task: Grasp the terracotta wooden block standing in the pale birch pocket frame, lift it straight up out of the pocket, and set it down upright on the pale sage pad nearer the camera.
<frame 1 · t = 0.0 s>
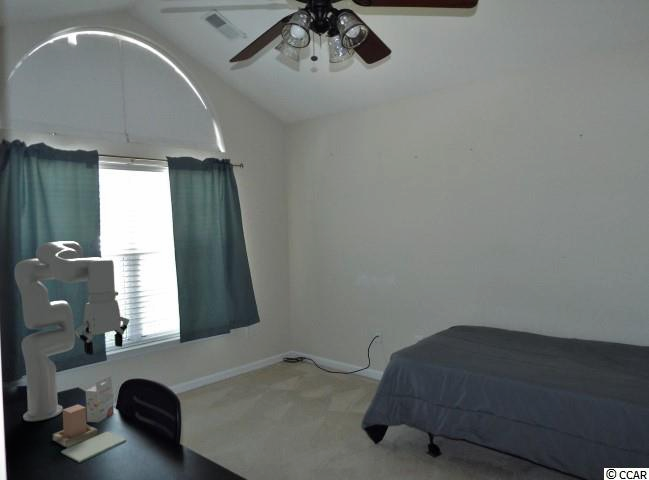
hand: (104, 350, 138), 31 cm above the table, tool pointing down, fingers open, 9 cm apart
ink cartridge box: (100, 417, 160), on the table
terracotta block: (74, 423, 145), in the pocket frame
sage pad: (94, 446, 138), on the table
pocket frame: (75, 437, 145), on the table
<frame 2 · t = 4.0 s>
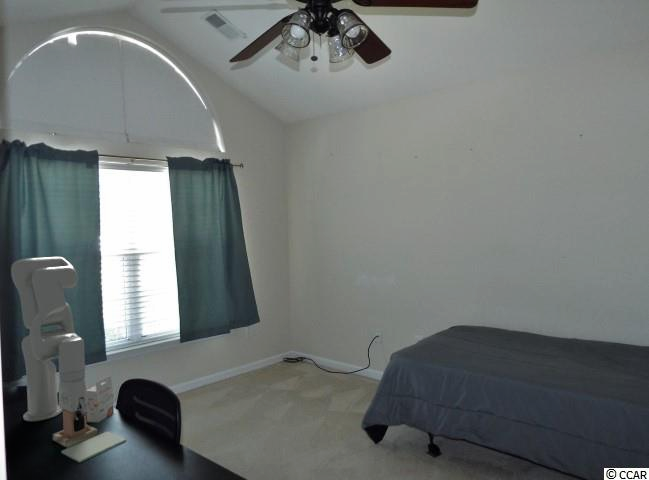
hand: (75, 427, 145), 3 cm above the table, tool pointing down, fingers closed on terracotta block, 5 cm apart
terracotta block: (74, 423, 145), in the pocket frame, touching gripper
everything else where it was.
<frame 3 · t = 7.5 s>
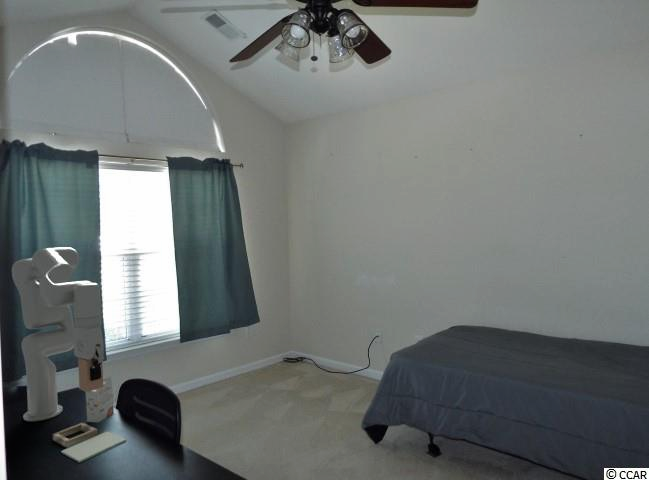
hand: (91, 377, 138), 23 cm above the table, tool pointing down, fingers closed on terracotta block, 5 cm apart
terracotta block: (90, 372, 138), point 24 cm above the table, touching gripper
everything else where it was.
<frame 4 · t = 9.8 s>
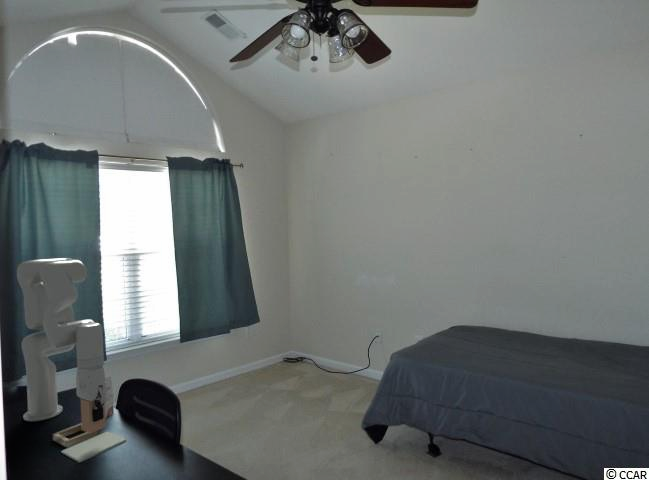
hand: (93, 417, 138), 10 cm above the table, tool pointing down, fingers closed on terracotta block, 5 cm apart
terracotta block: (93, 412, 138), point 11 cm above the table, touching gripper
everything else where it was.
when the fingers open (6 cm above the table, at t = 11.4 s): terracotta block drops 2 cm, resting on sage pad.
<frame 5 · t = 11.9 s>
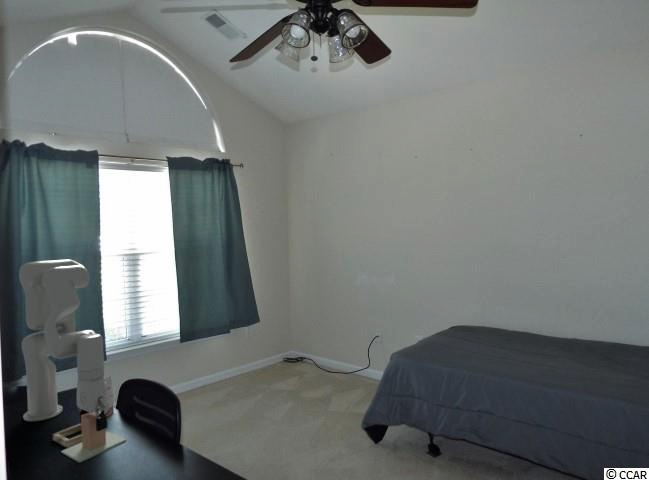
hand: (93, 425, 138), 7 cm above the table, tool pointing down, fingers open, 9 cm apart
terracotta block: (93, 429, 138), on the sage pad, point 6 cm above the table
everything else where it was.
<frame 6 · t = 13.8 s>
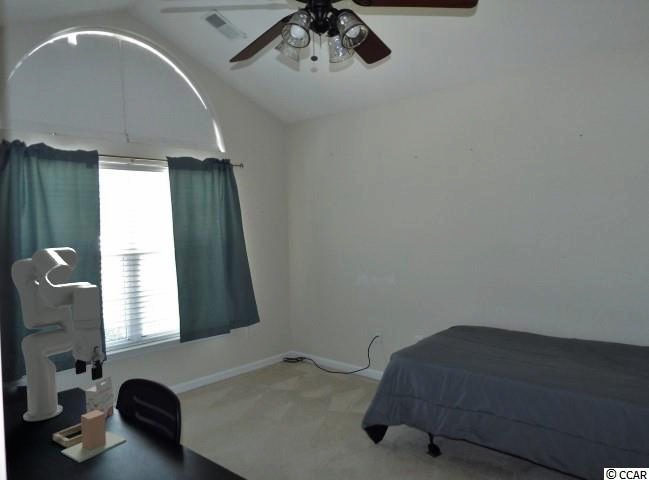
hand: (89, 376, 138), 23 cm above the table, tool pointing down, fingers open, 9 cm apart
nothing on the table moved.
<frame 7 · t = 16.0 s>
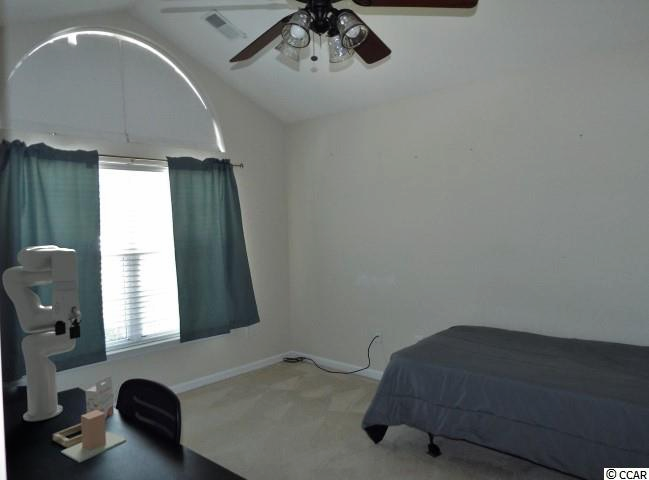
hand: (67, 336, 145), 34 cm above the table, tool pointing down, fingers open, 9 cm apart
nothing on the table moved.
at the end: terracotta block inside the target area (0.1 cm from its centre), point 5.6 cm above the table; terracotta block tilted 0°; the gripper is holding nothing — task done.
